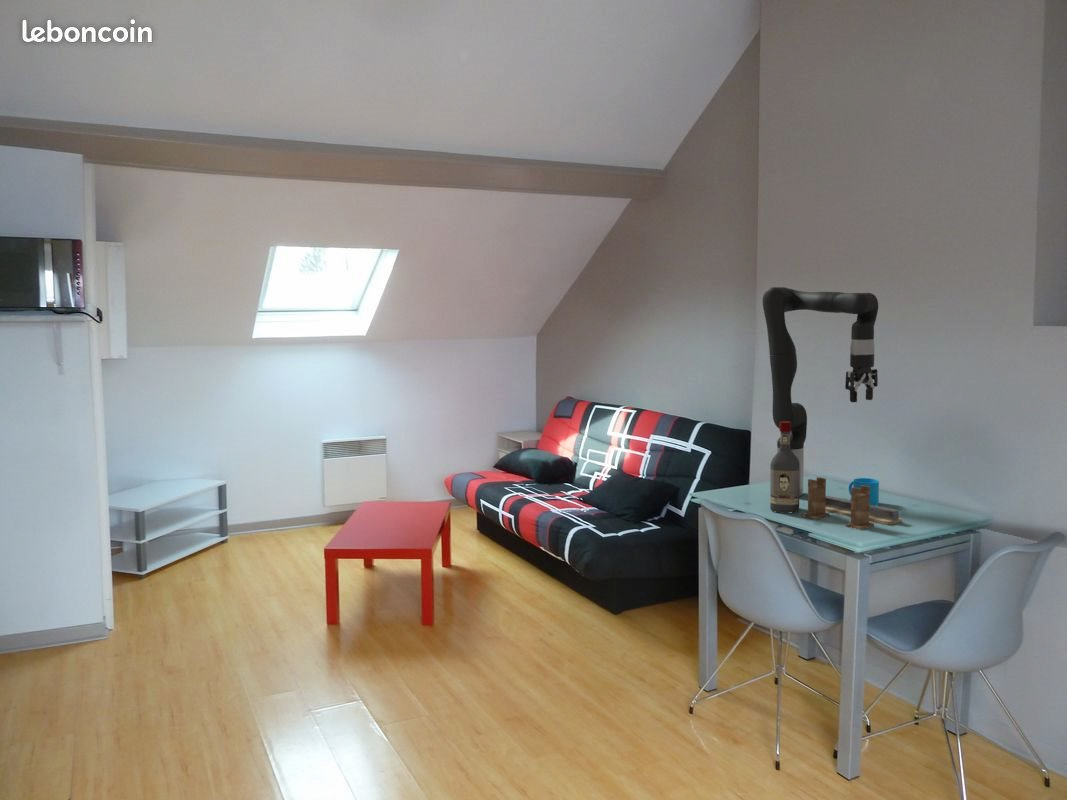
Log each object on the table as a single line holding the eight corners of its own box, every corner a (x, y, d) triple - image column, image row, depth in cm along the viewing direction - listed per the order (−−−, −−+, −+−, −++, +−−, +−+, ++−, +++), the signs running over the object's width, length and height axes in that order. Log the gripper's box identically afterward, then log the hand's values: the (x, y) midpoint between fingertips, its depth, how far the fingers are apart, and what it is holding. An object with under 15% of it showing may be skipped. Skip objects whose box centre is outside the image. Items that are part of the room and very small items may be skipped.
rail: (822, 505, 279) (822, 497, 278) (828, 504, 280) (828, 495, 280) (893, 521, 257) (893, 511, 257) (898, 519, 259) (898, 510, 259)
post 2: (845, 526, 256) (846, 487, 255) (859, 522, 260) (860, 484, 259) (860, 529, 252) (860, 490, 251) (873, 525, 256) (874, 486, 255)
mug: (884, 504, 282) (884, 481, 281) (865, 507, 279) (865, 484, 278) (858, 497, 293) (858, 475, 292) (839, 500, 290) (840, 477, 289)
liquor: (771, 506, 285) (771, 419, 281) (799, 507, 282) (800, 420, 278) (769, 512, 276) (770, 423, 273) (798, 514, 273) (799, 424, 270)
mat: (818, 509, 278) (818, 506, 278) (831, 506, 282) (831, 503, 282) (888, 525, 256) (889, 522, 256) (902, 521, 260) (902, 518, 260)
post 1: (803, 516, 270) (803, 479, 268) (817, 513, 274) (817, 476, 272) (816, 519, 266) (816, 481, 264) (829, 516, 269) (830, 478, 268)
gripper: (865, 351, 283) (864, 398, 285) (839, 353, 275) (838, 402, 277) (885, 352, 277) (884, 400, 279) (859, 354, 269) (858, 403, 271)
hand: (861, 401), depth 278 cm, fingers open, 8 cm apart
